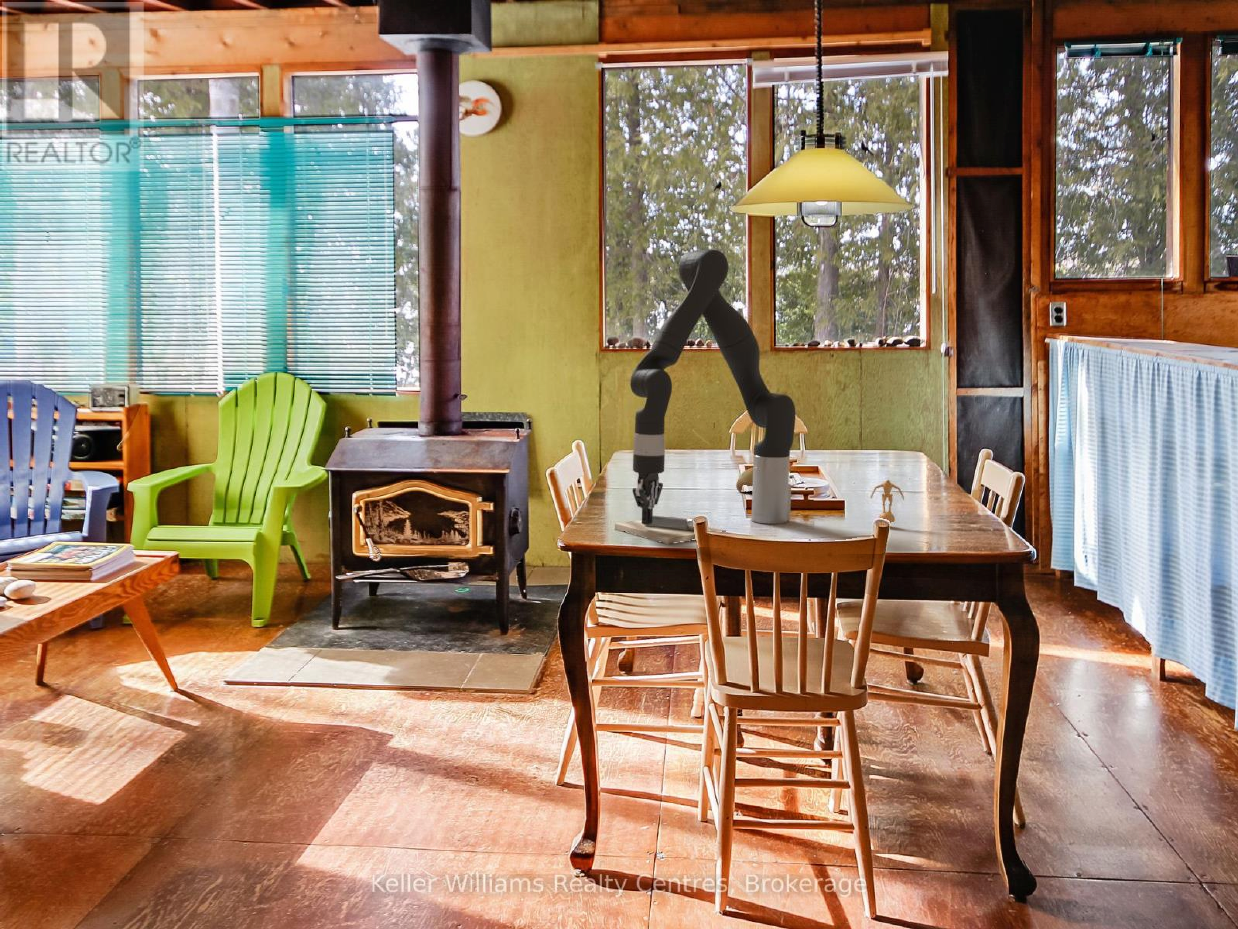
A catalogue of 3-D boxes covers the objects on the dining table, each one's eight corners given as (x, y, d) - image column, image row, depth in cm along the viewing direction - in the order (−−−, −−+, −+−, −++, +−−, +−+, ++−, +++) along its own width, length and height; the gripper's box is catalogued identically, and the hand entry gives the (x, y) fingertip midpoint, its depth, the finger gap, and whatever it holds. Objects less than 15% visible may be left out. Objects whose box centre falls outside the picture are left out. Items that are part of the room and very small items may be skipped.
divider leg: (701, 528, 268) (701, 518, 268) (697, 530, 265) (697, 521, 265) (646, 523, 274) (646, 513, 274) (641, 525, 271) (641, 515, 271)
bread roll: (788, 495, 330) (789, 469, 329) (738, 495, 330) (739, 468, 329) (782, 490, 340) (783, 464, 339) (733, 490, 339) (734, 464, 338)
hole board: (671, 522, 285) (671, 516, 285) (725, 536, 269) (726, 529, 268) (614, 529, 275) (614, 522, 275) (667, 544, 258) (667, 537, 258)
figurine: (870, 527, 282) (872, 481, 281) (868, 523, 288) (870, 477, 287) (903, 529, 281) (906, 482, 280) (901, 524, 287) (903, 479, 285)
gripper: (651, 456, 257) (649, 530, 260) (674, 450, 269) (672, 521, 271) (622, 454, 260) (621, 526, 263) (646, 448, 272) (644, 518, 275)
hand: (647, 523), depth 267 cm, fingers closed
